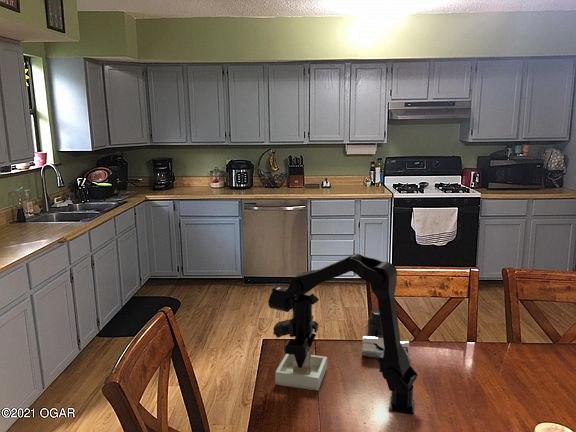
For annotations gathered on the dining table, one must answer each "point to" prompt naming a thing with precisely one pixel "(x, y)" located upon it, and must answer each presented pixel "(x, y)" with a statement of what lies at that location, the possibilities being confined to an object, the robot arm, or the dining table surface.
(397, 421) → the dining table surface
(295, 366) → the birch block
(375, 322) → the supplement bottle
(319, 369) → the bin
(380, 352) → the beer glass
